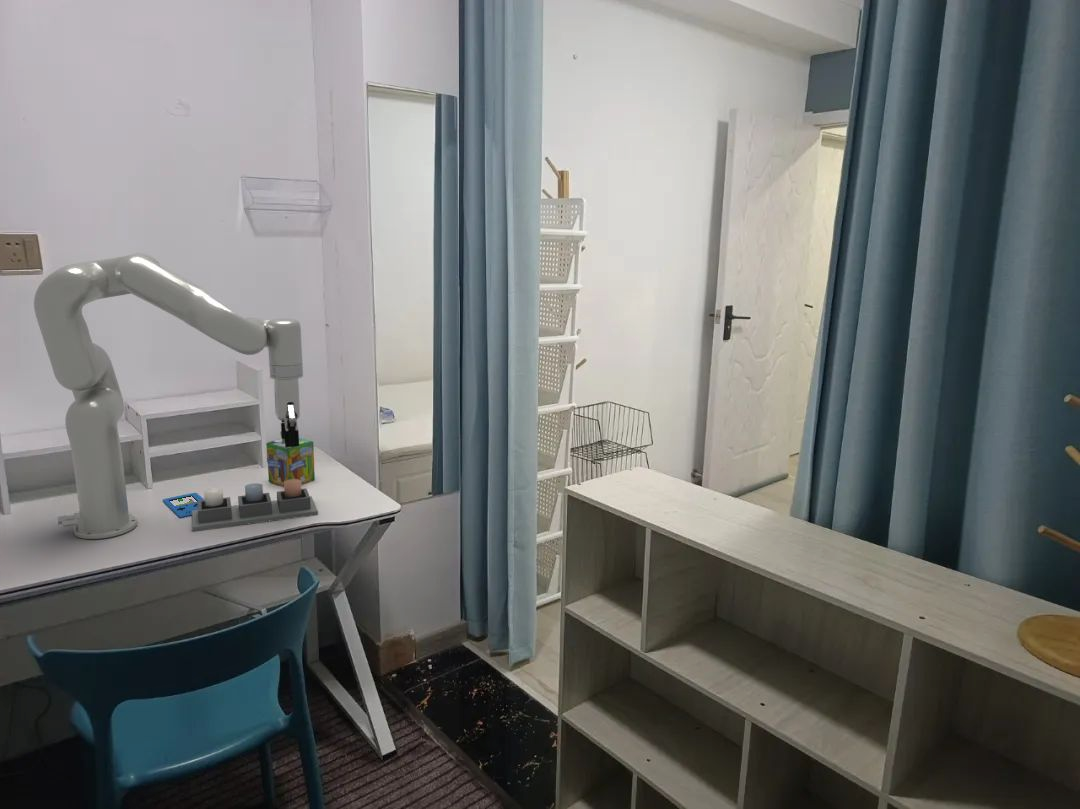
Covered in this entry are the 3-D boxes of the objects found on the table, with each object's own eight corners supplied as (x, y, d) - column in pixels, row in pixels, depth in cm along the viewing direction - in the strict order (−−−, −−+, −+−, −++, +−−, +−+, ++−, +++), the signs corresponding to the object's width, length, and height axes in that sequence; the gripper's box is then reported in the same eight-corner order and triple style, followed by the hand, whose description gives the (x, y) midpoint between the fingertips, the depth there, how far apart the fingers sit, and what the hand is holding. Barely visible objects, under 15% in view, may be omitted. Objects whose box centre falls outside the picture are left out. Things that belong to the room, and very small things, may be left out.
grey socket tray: (192, 531, 166) (191, 515, 165) (192, 514, 176) (191, 498, 175) (317, 514, 178) (317, 499, 177) (311, 499, 188) (310, 485, 187)
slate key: (246, 502, 173) (245, 489, 173) (245, 496, 177) (244, 484, 176) (263, 500, 175) (263, 487, 174) (262, 494, 179) (261, 482, 178)
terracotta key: (285, 497, 177) (284, 485, 176) (283, 492, 181) (283, 480, 180) (302, 495, 179) (301, 483, 178) (300, 490, 182) (299, 478, 182)
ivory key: (205, 507, 170) (204, 494, 169) (204, 501, 173) (203, 488, 172) (223, 505, 171) (222, 492, 171) (223, 499, 175) (222, 486, 174)
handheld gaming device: (179, 515, 173) (161, 498, 184) (180, 520, 173) (162, 502, 184) (215, 507, 178) (195, 491, 189) (215, 512, 179) (196, 495, 189)
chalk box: (290, 489, 195) (287, 436, 191) (267, 482, 199) (264, 431, 196) (316, 479, 203) (314, 429, 199) (293, 473, 207) (291, 424, 204)
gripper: (266, 365, 179) (270, 434, 183) (273, 378, 163) (277, 453, 167) (298, 363, 182) (301, 431, 186) (307, 376, 166) (311, 450, 171)
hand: (290, 441), depth 177 cm, fingers open, 6 cm apart
